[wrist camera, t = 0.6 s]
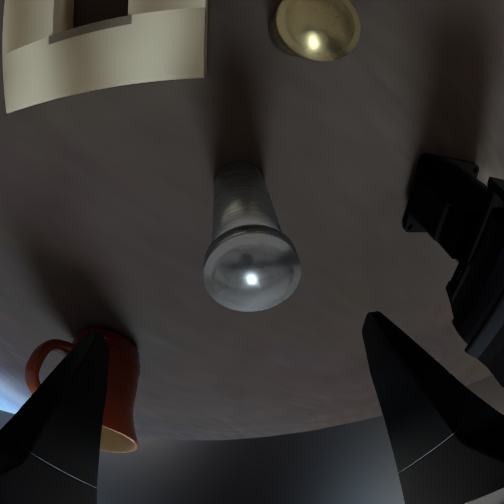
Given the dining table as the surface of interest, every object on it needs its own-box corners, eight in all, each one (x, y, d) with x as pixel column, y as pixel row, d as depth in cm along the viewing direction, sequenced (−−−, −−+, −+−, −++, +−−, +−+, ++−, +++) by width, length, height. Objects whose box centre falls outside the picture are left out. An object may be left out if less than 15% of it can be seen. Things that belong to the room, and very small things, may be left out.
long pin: (270, 157, 18) (307, 234, 11) (267, 211, 20) (295, 309, 13) (208, 157, 18) (200, 237, 10) (210, 212, 20) (206, 313, 13)
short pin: (329, 8, 13) (362, -5, 9) (326, 64, 15) (358, 67, 11) (264, 0, 12) (278, -20, 9) (262, 58, 14) (275, 56, 11)
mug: (165, 361, 29) (158, 452, 21) (105, 374, 30) (91, 452, 22) (90, 281, 22) (50, 387, 14) (33, 307, 24) (-3, 393, 15)
